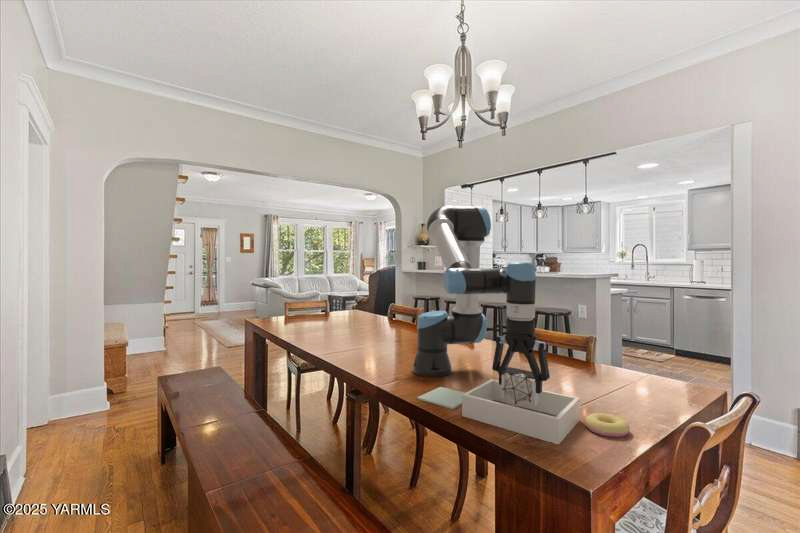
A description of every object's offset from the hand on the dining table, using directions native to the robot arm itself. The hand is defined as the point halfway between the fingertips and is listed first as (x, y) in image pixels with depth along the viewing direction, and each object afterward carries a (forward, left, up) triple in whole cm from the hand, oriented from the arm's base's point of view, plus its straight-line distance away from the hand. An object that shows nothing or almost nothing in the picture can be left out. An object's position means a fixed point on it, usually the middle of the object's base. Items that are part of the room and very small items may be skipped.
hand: (519, 400), depth 105 cm
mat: (-24, 0, -5) cm, 24 cm away
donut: (+20, +7, -5) cm, 22 cm away
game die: (0, 0, -1) cm, 1 cm away
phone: (-16, +41, -5) cm, 44 cm away
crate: (0, 0, -5) cm, 5 cm away
